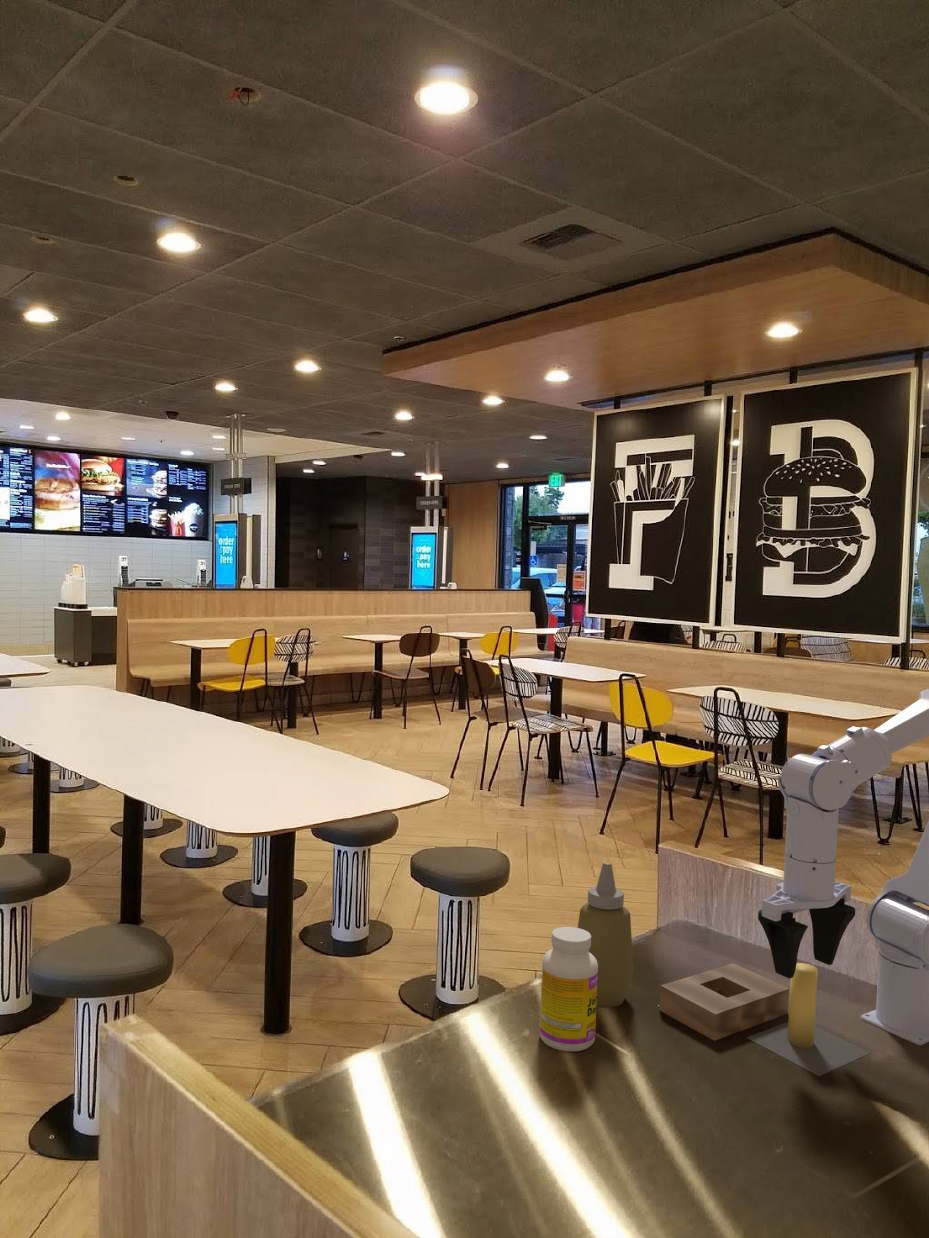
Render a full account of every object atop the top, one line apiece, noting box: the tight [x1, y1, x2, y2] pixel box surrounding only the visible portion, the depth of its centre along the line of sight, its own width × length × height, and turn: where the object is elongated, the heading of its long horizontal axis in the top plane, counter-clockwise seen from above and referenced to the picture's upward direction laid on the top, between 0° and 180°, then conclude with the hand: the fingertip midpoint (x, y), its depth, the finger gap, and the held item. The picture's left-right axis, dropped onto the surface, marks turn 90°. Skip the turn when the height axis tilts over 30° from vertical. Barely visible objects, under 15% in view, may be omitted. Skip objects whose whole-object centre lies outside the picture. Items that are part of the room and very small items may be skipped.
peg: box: [787, 962, 819, 1048], centre depth 110 cm, size 3×3×9 cm
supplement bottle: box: [539, 926, 598, 1053], centre depth 109 cm, size 7×7×13 cm
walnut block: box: [658, 963, 790, 1042], centre depth 118 cm, size 14×9×4 cm, turn 124°
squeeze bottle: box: [577, 862, 635, 1008], centre depth 120 cm, size 8×8×18 cm
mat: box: [746, 1021, 871, 1077], centre depth 110 cm, size 10×10×1 cm
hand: (804, 968), depth 110 cm, fingers open, 7 cm apart
